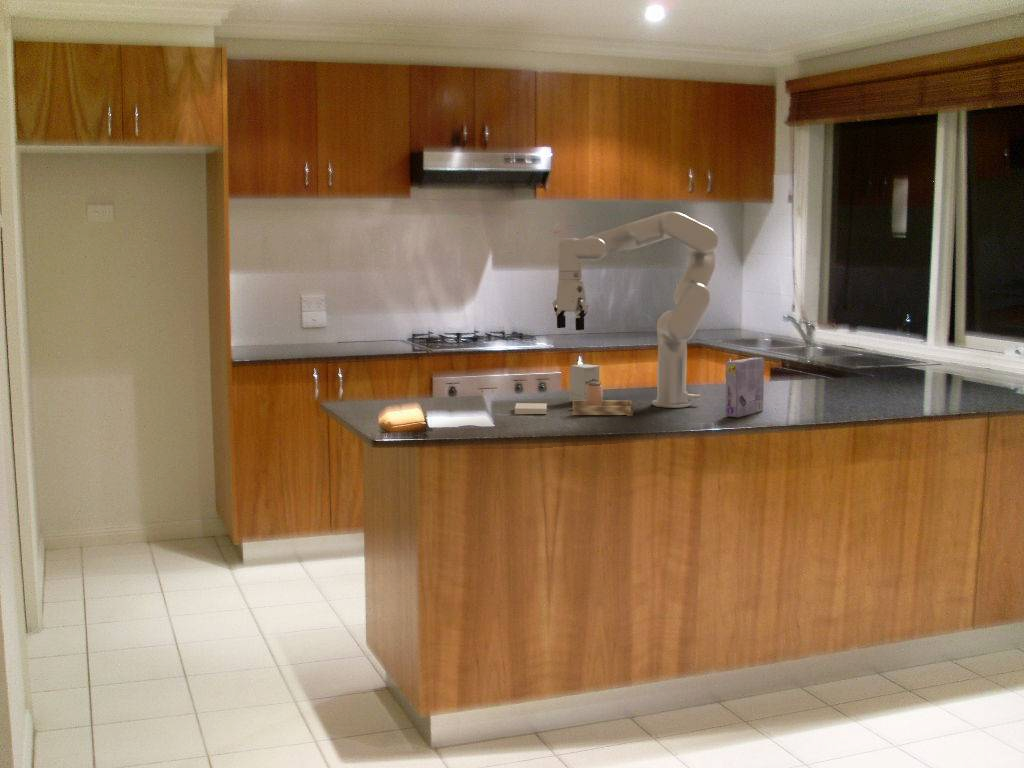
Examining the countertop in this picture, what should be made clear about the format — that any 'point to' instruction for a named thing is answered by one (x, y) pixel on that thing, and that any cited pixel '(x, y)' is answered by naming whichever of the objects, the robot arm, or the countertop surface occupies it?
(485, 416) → the countertop surface
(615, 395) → the countertop surface
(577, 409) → the wooden tray
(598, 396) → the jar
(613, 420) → the countertop surface
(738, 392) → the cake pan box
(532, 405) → the block
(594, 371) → the supplement box
